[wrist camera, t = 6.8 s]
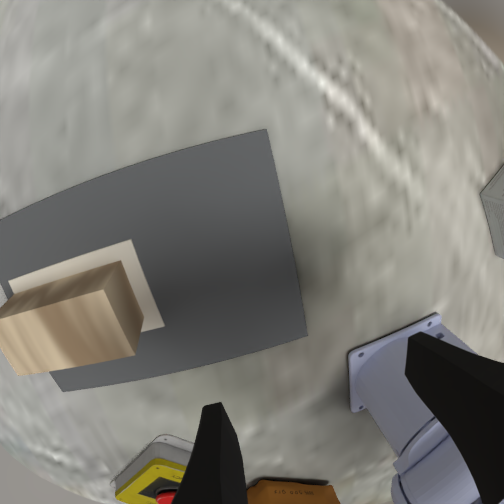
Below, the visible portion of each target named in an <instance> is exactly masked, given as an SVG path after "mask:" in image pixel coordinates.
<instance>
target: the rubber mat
mask: <svg viewBox="0 0 504 504" xmlns="http://www.w3.org/2000/svg"><path fill="white" fill-rule="evenodd" d="M120 260H121V261H122V264H123V267H124V269H125V272H126V274H127V277H128V279H129V282H130V284H131V287H132V289H133V292H134V294H135V297H136V299H137V301H138V304H139V306H140V308H141V311H142V313H143V315H144V321H143V325H142V329H141V333H140V337H139V341H138V346H137V350H136V354H135V355H134V356H129V357H125V358H120V359H115V360H110V361H105V362H100V363H95V364H89V365H84V366H78V367H73V368H67V369H61V370H55V371H49V373H50V374H51V376H52V377H53V379H54V380H55V382H56V383H57V384H58V386H59V387H60V389H61V390H62V392H66V391H74V390H81V389H88V388H95V387H102V386H108V385H114V384H119V383H125V382H131V381H136V380H141V379H146V378H151V377H156V376H161V375H166V374H170V373H175V372H179V371H184V370H188V369H192V368H196V367H201V366H205V365H209V364H213V363H217V362H220V361H224V360H228V359H232V358H236V357H239V356H243V355H246V354H250V353H253V352H257V351H260V350H264V349H267V348H270V347H274V346H277V345H280V344H284V343H287V342H290V341H293V340H296V339H299V338H302V337H305V336H308V334H307V328H306V322H305V316H304V310H303V304H302V299H301V293H300V288H299V282H298V277H297V271H296V266H295V261H294V256H293V250H292V245H291V240H290V235H289V230H288V225H287V220H286V215H285V210H284V206H283V201H282V196H281V191H280V187H279V182H278V177H277V173H276V168H275V164H274V159H273V155H272V150H271V146H270V141H269V137H268V133H267V129H265V130H260V131H255V132H251V133H246V134H242V135H237V136H233V137H229V138H225V139H221V140H217V141H213V142H209V143H205V144H201V145H198V146H194V147H190V148H187V149H183V150H180V151H176V152H173V153H169V154H166V155H163V156H160V157H156V158H153V159H150V160H147V161H144V162H141V163H138V164H135V165H132V166H129V167H126V168H123V169H120V170H117V171H114V172H112V173H109V174H106V175H103V176H101V177H98V178H95V179H93V180H90V181H87V182H85V183H82V184H80V185H77V186H75V187H72V188H70V189H67V190H65V191H62V192H60V193H58V194H55V195H53V196H51V197H48V198H46V199H44V200H42V201H39V202H37V203H35V204H33V205H31V206H28V207H26V208H24V209H22V210H20V211H18V212H16V213H14V214H12V215H10V216H8V217H6V218H4V219H2V220H0V283H1V285H2V288H3V290H4V292H5V294H6V296H7V298H8V300H9V299H10V298H11V297H12V296H13V295H14V294H16V293H19V292H22V291H25V290H28V289H31V288H34V287H37V286H40V285H43V284H46V283H49V282H53V281H56V280H59V279H62V278H65V277H68V276H71V275H75V274H78V273H81V272H84V271H87V270H90V269H94V268H97V267H100V266H103V265H107V264H110V263H113V262H116V261H120Z"/></svg>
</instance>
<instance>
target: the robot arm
mask: <svg viewBox="0 0 504 504" xmlns="http://www.w3.org/2000/svg"><path fill="white" fill-rule="evenodd" d="M360 353H361V354H360ZM348 361H349V382H350V409H351V411H352V412H353V413H356V412H358V411H361V410H363V409H365V408H367V409H368V411H369V413H370V414H371V416H372V417H373V419H374V421H375V422H376V424H377V425H378V427H379V428H380V430H381V432H382V433H383V435H384V436H385V438H386V440H387V441H388V443H389V444H390V446H391V448H392V449H393V451H394V452H395V454H396V456H397V457H398V459H397V460H396V461H395V462H394V463H393V465H394V467H395V469H396V471H397V472H398V473H397V474H396V475H395V476H394V477H393V479H392V487H391V496H392V499H393V502H394V504H504V363H502V362H498V361H494V360H491V359H488V358H485V357H482V356H479V355H478V354H477V353H475V352H474V351H473V350H472V349H471V348H470V347H468V346H467V345H466V344H465V343H464V342H463V341H461V340H460V339H459V338H458V337H457V336H456V335H454V334H453V333H452V332H451V331H450V330H448V329H447V328H446V327H445V326H444V325H442V324H441V315H440V314H439V313H436V314H434V315H432V316H430V317H428V318H426V319H424V320H422V321H420V322H418V323H416V324H413V325H411V326H409V327H407V328H405V329H403V330H400V331H398V332H396V333H394V334H391V335H389V336H387V337H384V338H382V339H380V340H377V341H375V342H372V343H370V344H367V345H365V346H363V347H360V348H357V349H355V350H353V351H351V352H350V353H349V355H348ZM171 504H248V498H247V490H246V483H245V475H244V467H243V459H242V455H241V450H240V446H239V442H238V438H237V434H236V432H235V430H234V428H233V426H232V424H231V422H230V420H229V417H228V415H227V413H226V411H225V409H224V407H223V405H222V402H219V403H214V404H210V405H206V406H204V407H203V408H202V414H201V419H200V424H199V428H198V432H197V436H196V440H195V443H194V446H193V450H192V453H191V456H190V459H189V462H188V465H187V467H186V470H185V473H184V475H183V478H182V480H181V483H180V485H179V487H178V489H177V492H176V494H175V496H174V498H173V500H172V502H171Z"/></svg>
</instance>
